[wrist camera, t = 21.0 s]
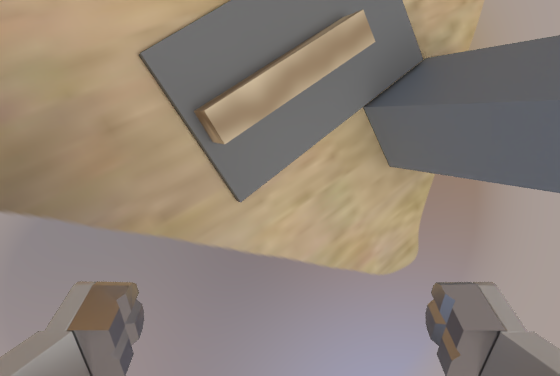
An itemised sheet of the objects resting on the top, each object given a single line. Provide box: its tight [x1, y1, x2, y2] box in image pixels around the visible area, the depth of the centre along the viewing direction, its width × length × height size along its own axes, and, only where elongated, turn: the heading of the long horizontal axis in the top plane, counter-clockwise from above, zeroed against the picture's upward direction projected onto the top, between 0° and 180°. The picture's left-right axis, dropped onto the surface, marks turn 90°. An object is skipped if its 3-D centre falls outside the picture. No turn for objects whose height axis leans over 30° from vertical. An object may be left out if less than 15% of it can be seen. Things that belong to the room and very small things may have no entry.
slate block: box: [363, 35, 560, 193], centre depth 39 cm, size 9×12×26 cm
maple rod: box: [194, 10, 375, 144], centre depth 38 cm, size 4×20×4 cm, turn 120°
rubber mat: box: [139, 0, 423, 202], centre depth 41 cm, size 17×30×1 cm, turn 122°
